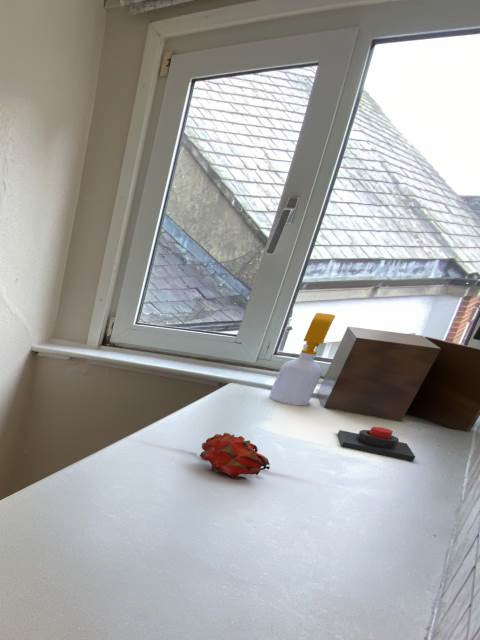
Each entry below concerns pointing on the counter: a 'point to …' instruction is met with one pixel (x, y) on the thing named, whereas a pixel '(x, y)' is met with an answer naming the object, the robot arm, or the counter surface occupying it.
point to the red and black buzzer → (375, 445)
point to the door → (450, 387)
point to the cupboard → (377, 372)
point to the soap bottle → (302, 367)
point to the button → (381, 432)
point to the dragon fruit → (233, 455)
